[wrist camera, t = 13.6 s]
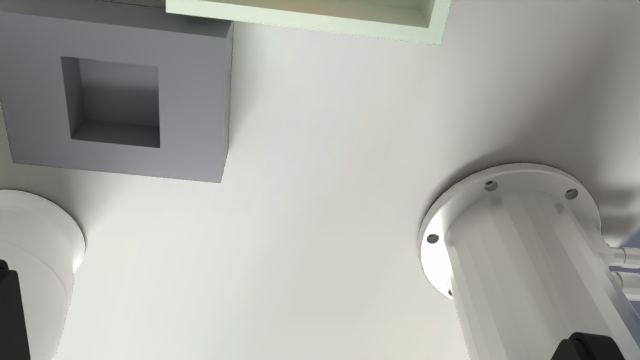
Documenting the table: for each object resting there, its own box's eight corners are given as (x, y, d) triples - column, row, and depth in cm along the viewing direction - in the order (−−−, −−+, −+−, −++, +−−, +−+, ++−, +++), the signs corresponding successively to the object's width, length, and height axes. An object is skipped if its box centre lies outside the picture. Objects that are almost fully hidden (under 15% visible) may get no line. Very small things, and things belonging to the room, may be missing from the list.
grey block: (233, 16, 32) (226, 38, 29) (227, 153, 37) (220, 183, 34) (13, -10, 31) (-17, 9, 28) (36, 133, 36) (13, 162, 33)
